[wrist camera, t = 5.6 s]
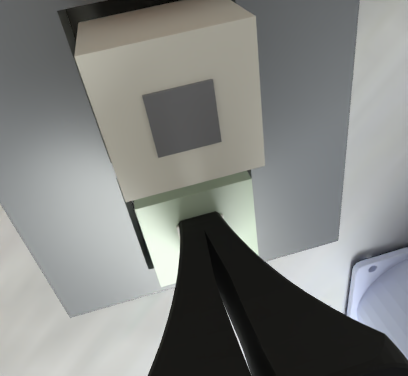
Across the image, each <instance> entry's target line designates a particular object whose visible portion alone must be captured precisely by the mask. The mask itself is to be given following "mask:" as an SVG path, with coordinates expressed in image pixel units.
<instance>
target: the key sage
mask: <svg viewBox="0 0 408 376" xmlns="http://www.w3.org/2000/svg"><path fill="white" fill-rule="evenodd" d="M133 201H134V208H135V212H136V215H137V218H138V221H139V224H140V227H141V230H142V233H143V236H144V239H145V242H146V244H147V247H148V250H149V253H150V256H151V259H152V262H153V265H154V268H155V271H156V274H157V277H158V280H159V283H160V286H161V287H164V286H167V285H171V284H174V283H176V280H177V274H178V265H179V255H180V231H179V225H178V224H179V222H180V221H182V220H185V219H189V218H193V217H196V216H200V215H204V214H207V213H211V212H215V211H216V212H218V213H220V215H221V216H222V218H223V219H224V220H225V221H226V223H227V224H228V225H229V226H230V227H231V229H232V230H233V231H234V232H235V233H236V234H237V235H238V236H239V237H240V238H241V239H242V240H243V241H244V242H245V243H246V244H247V245H248V246H249V247H250V248H251V249H252V250H253V251H254V252H255V253H256V254H257V255H258V256H259V254H258V243H257V232H256V221H255V210H254V198H253V187H252V178H251V177H250V175H249V173H248V172H247V171H243V172H239V173H236V174H232V175H228V176H224V177H220V178H217V179H213V180H209V181H205V182H201V183H198V184H194V185H190V186H186V187H182V188H178V189H175V190H171V191H167V192H163V193H159V194H156V195H152V196H148V197H144V198H140V199H137V200H133Z"/></svg>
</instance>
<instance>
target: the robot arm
mask: <svg viewBox="0 0 408 376" xmlns="http://www.w3.org/2000/svg"><path fill="white" fill-rule="evenodd" d="M178 225H179V231H180V255H179V265H178V274H177V280H176V285H175V291H174V296H173V301H172V305H171V309H170V313H169V317H168V321H167V324H166V327H165V330H164V334H163V337H162V340H161V343H160V346H159V348H158V351H157V354H156V356H155V359H154V361H153V364H152V366H151V369H150V372H149V374H148V376H251V375H252V376H408V247H406V248H402V249H399V250H396V251H392V252H389V253H385V254H382V255H379V256H375V257H372V258H369V259H365V260H362V261H359V262H357V263H356V264H355V265H354V267H353V269H352V277H351V285H350V292H349V300H348V308H347V316H346V315H345V314H343V313H341V312H339V311H337V310H335V309H333V308H331V307H330V306H328V305H326V304H325V303H323V302H321V301H320V300H318V299H316V298H315V297H313V296H311V295H310V294H308V293H306V292H305V291H303V290H302V289H301V288H299V287H298V286H296V285H295V284H293V283H292V282H290V281H289V280H288V279H286V278H285V277H284V276H282V275H281V274H280V273H278V272H277V271H276V270H275V269H273V268H272V267H271V266H270V265H269V264H267V263H266V262H265V261H264V260H263V259H262V258H260V257H259V256H258V255H257V254H256V253H255V252H254V251H253V250H252V249H251V248H250V247H249V246H248V245H247V244H246V243H245V242H244V241H243V240H242V239H241V238H240V237H239V236H238V235H237V234H236V233H235V232H234V231H233V230H232V229H231V227H230V226H229V225H228V224H227V223H226V221H225V220H224V219H223V218H222V216H221V215H220V213H218V212H216V211H215V212H211V213H207V214H204V215H200V216H196V217H193V218H189V219H185V220H182V221H180V222H179V224H178ZM223 303H224V304H223ZM224 306H225V307H224ZM225 308H226V309H225ZM226 310H227V312H228V315H229V317H230V319H231V322H232V324H233V326H234V329H235V331H236V333H237V336H238V338H239V341H240V343H241V346H242V348H243V351H244V354H245V357H246V360H247V363H248V366H249V368H248V366H247V364H246V361H245V359H244V356H243V354H242V351H241V349H240V346H239V343H238V341H237V338H236V336H235V333H234V331H233V328H232V325H231V323H230V320H229V317H228V315H227V312H226ZM249 369H250V371H249ZM250 372H251V373H250Z"/></svg>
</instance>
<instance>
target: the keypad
mask: <svg viewBox="0 0 408 376" xmlns="http://www.w3.org/2000/svg"><path fill="white" fill-rule="evenodd" d="M101 1H106V0H0V204H1V206H2V207H3V209H4V210H5V212H6V214H7V215H8V217H9V219H10V220H11V222H12V224H13V225H14V227H15V228H16V230H17V232H18V233H19V235H20V237H21V238H22V240H23V242H24V243H25V245H26V246H27V248H28V250H29V251H30V253H31V255H32V256H33V258H34V260H35V261H36V263H37V264H38V266H39V268H40V269H41V271H42V273H43V274H44V276H45V278H46V279H47V281H48V283H49V284H50V286H51V287H52V289H53V291H54V292H55V294H56V296H57V297H58V299H59V301H60V302H61V304H62V305H63V307H64V309H65V310H66V312H67V314H68V315H69V317H70V318H71V317H75V316H78V315H82V314H85V313H89V312H92V311H96V310H99V309H103V308H106V307H110V306H113V305H117V304H120V303H123V302H127V301H130V300H134V299H137V298H141V297H144V296H148V295H151V294H155V293H158V292H162V291H165V290H169V289H172V288H175V285H176V283H174V284H171V285H167V286H164V287H161V286H160V283H159V280H158V277H157V274H156V271H155V268H154V265H153V262H152V259H151V256H150V253H149V250H148V247H147V244H146V242H145V239H143V236H142V233H141V230H140V227H139V224H138V221H137V218H136V215H135V212H134V209H133V206H132V204H131V201H129V202H125V199H124V196H123V193H122V191H121V188H120V185H119V182H118V179H117V176H116V174H115V171H114V168H113V165H112V162H111V159H110V157H109V154H108V151H107V148H106V145H105V142H104V140H103V137H102V134H101V131H100V128H99V125H98V122H97V120H96V117H95V114H94V111H93V108H92V105H91V103H90V100H89V97H88V94H87V91H86V88H85V86H84V83H83V80H82V77H81V74H80V71H79V69H78V66H77V63H76V60H75V57H74V55H75V46H76V40H75V37H74V34H73V31H72V28H71V25H70V22H69V19H68V16H67V13H66V10H65V9H68V8H73V7H78V6H82V5H87V4H92V3H97V2H101ZM231 1H233V2H234V3H236V4H238V5H239V6H241V7H242V8H244V9H245V10H247V11H249V12H250V13H252V14H253V15H255V16H256V26H257V42H258V58H259V74H260V90H261V106H262V123H263V139H264V155H265V166H262V167H258V168H255V169H251V170H247V172H248V173H249V175H250V177H251V178H252V187H253V198H254V210H255V221H256V232H257V243H258V254H259V257H260V258H262V259H263V260H264V261H265V262H266V261H269V260H273V259H276V258H280V257H283V256H287V255H290V254H294V253H297V252H300V251H304V250H307V249H311V248H314V247H318V246H321V245H325V244H328V243H332V242H335V241H338V237H339V225H340V214H341V203H342V192H343V180H344V169H345V158H346V147H347V136H348V124H349V113H350V102H351V91H352V80H353V68H354V57H355V46H356V35H357V23H358V12H359V1H360V0H231Z"/></svg>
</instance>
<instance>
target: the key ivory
mask: <svg viewBox="0 0 408 376" xmlns="http://www.w3.org/2000/svg"><path fill="white" fill-rule="evenodd" d="M74 57H75V60H76V63H77V66H78V69H79V71H80V74H81V77H82V80H83V83H84V86H85V88H86V91H87V94H88V97H89V100H90V103H91V105H92V108H93V111H94V114H95V117H96V120H97V122H98V125H99V128H100V131H101V134H102V137H103V140H104V142H105V145H106V148H107V151H108V154H109V157H110V159H111V162H112V165H113V168H114V171H115V174H116V176H117V179H118V182H119V185H120V188H121V191H122V193H123V196H124V199H125V202H129V201H133V200H137V199H140V198H144V197H148V196H152V195H156V194H159V193H163V192H167V191H171V190H175V189H178V188H182V187H186V186H190V185H194V184H198V183H201V182H205V181H209V180H213V179H217V178H220V177H224V176H228V175H232V174H236V173H239V172H243V171H247V170H251V169H255V168H258V167H262V166H265V155H264V139H263V123H262V106H261V90H260V74H259V58H258V42H257V26H256V16H255V15H253V14H252V13H250V12H249V11H247V10H245V9H244V8H242V7H241V6H239V5H238V4H236V3H234V2H233V1H231V0H181V1H176V2H171V3H167V4H162V5H157V6H153V7H148V8H143V9H139V10H134V11H129V12H125V13H120V14H115V15H111V16H106V17H101V18H97V19H92V20H87V21H83V22H78V30H77V38H76V46H75V55H74Z"/></svg>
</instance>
